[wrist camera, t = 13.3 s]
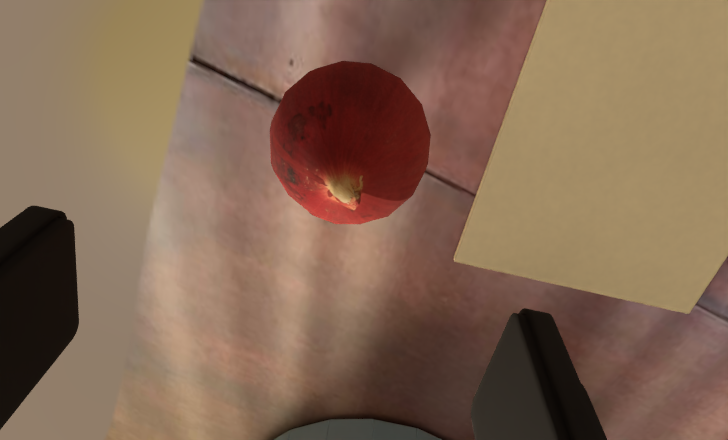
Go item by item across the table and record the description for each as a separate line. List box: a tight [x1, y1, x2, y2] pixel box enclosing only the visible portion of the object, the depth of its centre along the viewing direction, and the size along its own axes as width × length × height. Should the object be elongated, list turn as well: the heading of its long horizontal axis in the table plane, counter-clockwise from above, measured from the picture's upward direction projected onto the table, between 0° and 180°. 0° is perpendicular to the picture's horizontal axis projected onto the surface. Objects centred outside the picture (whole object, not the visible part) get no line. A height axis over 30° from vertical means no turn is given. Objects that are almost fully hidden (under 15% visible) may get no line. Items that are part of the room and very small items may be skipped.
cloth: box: [454, 0, 728, 314], centre depth 23 cm, size 12×14×1 cm
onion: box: [270, 61, 431, 224], centre depth 19 cm, size 6×6×8 cm
